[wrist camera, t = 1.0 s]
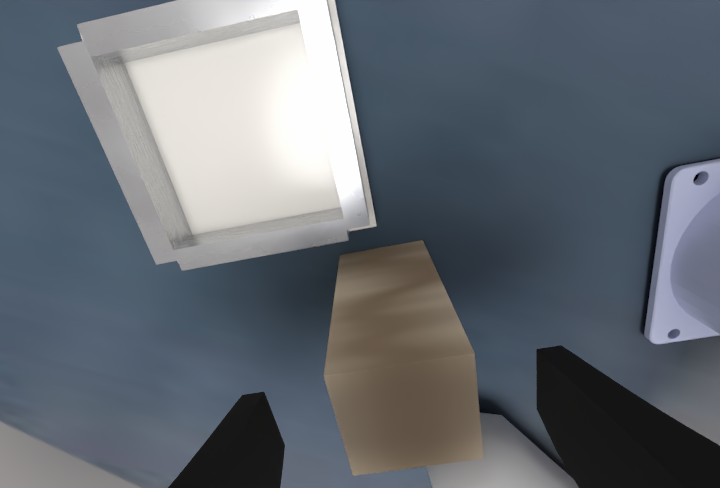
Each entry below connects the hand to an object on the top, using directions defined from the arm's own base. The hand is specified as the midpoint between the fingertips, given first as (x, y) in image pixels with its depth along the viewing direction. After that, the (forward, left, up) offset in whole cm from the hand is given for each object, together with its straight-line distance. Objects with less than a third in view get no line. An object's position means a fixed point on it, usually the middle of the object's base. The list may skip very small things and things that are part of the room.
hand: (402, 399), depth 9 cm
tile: (+4, -7, -6) cm, 10 cm away
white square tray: (+4, -7, -6) cm, 10 cm away
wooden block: (0, 0, -6) cm, 6 cm away
